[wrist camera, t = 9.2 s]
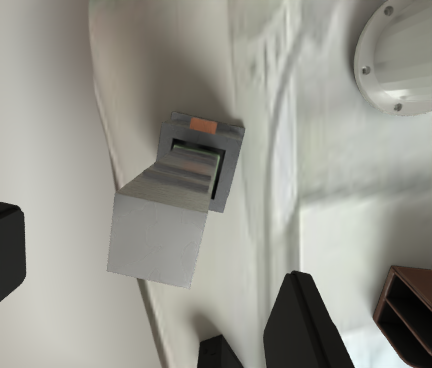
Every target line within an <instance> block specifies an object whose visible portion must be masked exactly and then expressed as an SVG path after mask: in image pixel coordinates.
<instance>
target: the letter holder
mask: <svg viewBox="0 0 432 368" xmlns="http://www.w3.org/2000/svg"><path fill="white" fill-rule="evenodd" d="M373 320H374V322H375V323H376V325H377V326H378V328H379V329H380V330H381V332H382V333H383V335H384V336H385V337H386V338H387V340H388V341H389V343H390V344H391V346H392V347H393V348H394V350H395V351H396V352H397V354H398V355H399V357H400V358H401V359H402V360H403V361H404V362H405V363H406V364H407V365H409V366H411V367H413V368H432V270H428V269H419V268H409V267H399V266H391V269H390V271H389V274H388V276H387V279H386V282H385V285H384V288H383V291H382V293H381V296H380V299H379V302H378V305H377V308H376V311H375V313H374V316H373Z"/></svg>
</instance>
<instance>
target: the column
mask: <svg viewBox="0 0 432 368" xmlns="http://www.w3.org/2000/svg"><path fill="white" fill-rule="evenodd" d="M219 159H220V153H216V152H212V151H207V150H203V149H199V148H194V147H190V146H186V145H181V144H175V145H174V149H172V150H171V151H170V152H168V153H167V154H166V155H165V156H163V157H162V158H161V159H159V160H158V161H157V162H155V163H154V164H153V165H151V166H150V167H149V168H147V169H146V170H144V171H143V172H142V173H141V174H139V175H138V176H137V177H136V178H134V179H133V180H132V181H130V182H129V183H128V184H126V185H125V186H124V187H122V188H121V189H120V190H118V191H117V192H116V193H115V197H114V206H113V216H112V226H111V236H110V245H109V254H108V264H107V271H108V272H113V273H117V274H122V275H126V276H131V277H136V278H140V279H145V280H150V281H154V282H159V283H163V284H168V285H173V286H177V287H182V288H186V289H190V287H191V282H192V278H193V274H194V270H195V265H196V261H197V257H198V253H199V248H200V244H201V240H202V235H203V231H204V227H205V223H206V218H207V214H208V209H209V203H210V198H211V193H212V189H213V185H214V180H215V176H216V172H217V167H218V163H219Z"/></svg>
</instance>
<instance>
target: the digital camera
mask: <svg viewBox="0 0 432 368" xmlns="http://www.w3.org/2000/svg"><path fill="white" fill-rule="evenodd" d="M207 348H208V349H207ZM197 368H244V367H243V366H242V364H241V362H240V361H239V359H238V358H237V356H236V355H235V353H234V352H233V350H232V349H231V347H230V346H229V344H228V343H227V341H226V340H225V338H224V336H223V335H222V334H221V335H219V336H216V337H213V338H211V339H208V340H205V341H202V342H200V347H199V356H198V364H197Z"/></svg>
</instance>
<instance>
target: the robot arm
mask: <svg viewBox="0 0 432 368" xmlns="http://www.w3.org/2000/svg"><path fill="white" fill-rule="evenodd" d="M384 12H385V14H384ZM362 69H363V70H364V73H362ZM354 73H355V79H356V83H357V85H358V88H359V90H360V92H361V94H362V95H363V97H364V98H365V100H366V101H367V102H368V103H369V104H371V105H372V106H373V107H374V108H376V109H378V110H379V111H381V112H383V113H387V114H390V115H397V116H415V115H420V114H425V113H428V112H430V111H432V0H387V1H386V2H385V3H384V4H383V5H382V6H380V7H379V8H378V9H377V10H376V11H375V13H374V14H373V15H372V17H371V18H370V19H369V21H368V22H367V24H366V26H365V27H364V29H363V31H362V33H361V35H360V38H359V41H358V43H357V46H356V51H355V57H354ZM394 106H395V108H394ZM25 277H26V255H25V222H24V213H23V212H22V211H21V209H20V207H19V206H17V205H13V204H8V203H4V202H0V302H1V301H2V300H3V299H4V298H5V297H6V296H8V295H9V294H10V293H11V292H12V291H14V290H15V289H16V288H17V287H18V286H20V284H22V282H23V281H24V279H25ZM263 342H264V350H265V358H266V366H267V368H355V367H354V365H353V362H352V360H351V358H350V356H349V354H348V352H347V349H346V347H345V345H344V343H343V341H342V339H341V336H340V334H339V332H338V330H337V328H336V326H335V324H334V323H333V322H332V320H331V318H330V316H329V313H328V311H327V309H326V307H325V305H324V302H323V300H322V298H321V296H320V293H319V291H318V289H317V287H316V285H315V282H314V280H313V278H312V276H311V275H310V274H307V273H303V272H299V271H292V272H291V274H288V273H287V274H286V275H285V277H284V280H283V283H282V285H281V288H280V290H279V293H278V296H277V298H276V301H275V304H274V306H273V309H272V311H271V314H270V317H269V319H268V322H267V325H266V327H265V330H264V336H263Z"/></svg>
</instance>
